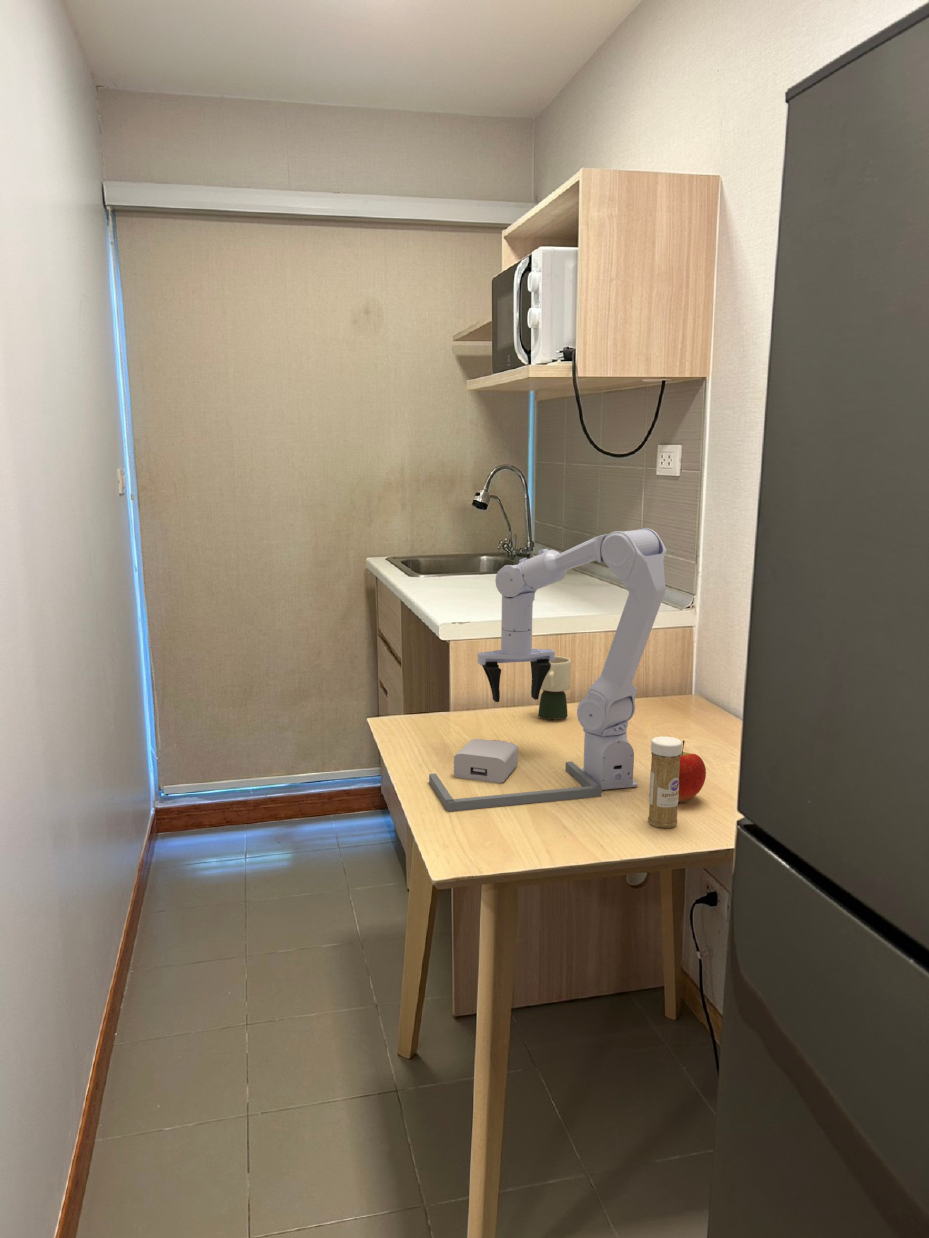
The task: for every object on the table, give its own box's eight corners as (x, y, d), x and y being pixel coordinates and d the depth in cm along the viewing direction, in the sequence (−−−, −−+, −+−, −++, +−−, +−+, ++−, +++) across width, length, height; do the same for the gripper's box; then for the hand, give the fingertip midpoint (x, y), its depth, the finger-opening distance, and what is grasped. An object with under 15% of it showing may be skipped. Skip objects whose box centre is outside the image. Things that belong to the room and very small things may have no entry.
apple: (644, 800, 147) (646, 742, 145) (667, 786, 153) (670, 730, 151) (689, 813, 142) (692, 753, 140) (711, 798, 148) (715, 741, 146)
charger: (526, 757, 168) (504, 784, 154) (479, 751, 171) (453, 778, 157) (526, 733, 167) (504, 758, 153) (479, 727, 170) (453, 752, 156)
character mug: (540, 709, 198) (541, 652, 196) (572, 712, 196) (573, 654, 194) (532, 724, 187) (533, 664, 185) (566, 726, 186) (568, 666, 183)
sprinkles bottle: (668, 831, 135) (673, 746, 132) (642, 823, 138) (645, 740, 135) (682, 822, 138) (687, 739, 136) (656, 814, 141) (660, 733, 139)
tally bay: (601, 796, 149) (601, 787, 148) (447, 811, 142) (447, 802, 141) (571, 769, 161) (571, 761, 161) (429, 782, 154) (429, 773, 154)
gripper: (546, 623, 171) (544, 691, 174) (473, 626, 168) (472, 696, 170) (559, 630, 164) (557, 701, 167) (483, 633, 161) (482, 706, 163)
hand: (515, 699), depth 168 cm, fingers open, 7 cm apart
